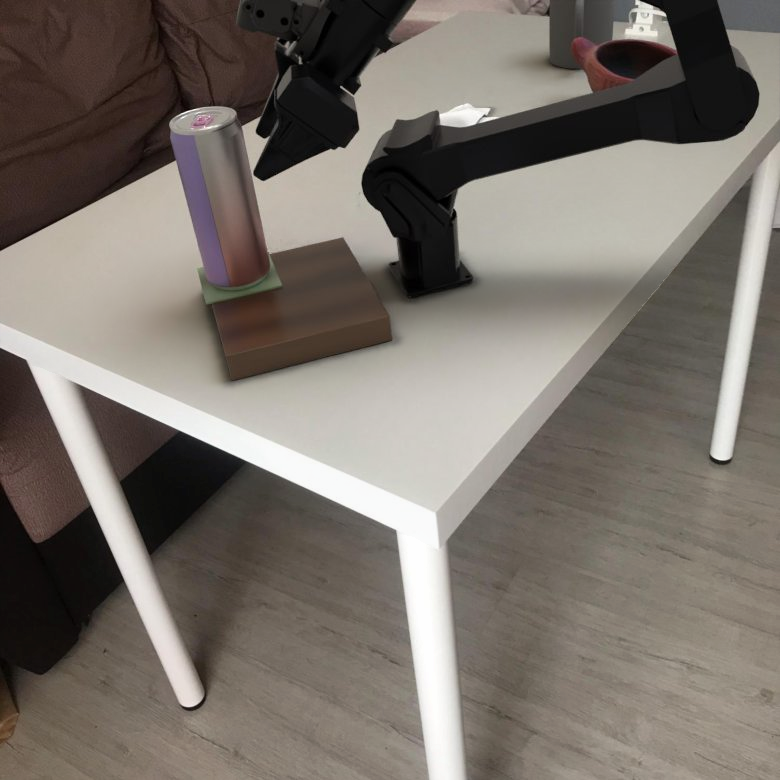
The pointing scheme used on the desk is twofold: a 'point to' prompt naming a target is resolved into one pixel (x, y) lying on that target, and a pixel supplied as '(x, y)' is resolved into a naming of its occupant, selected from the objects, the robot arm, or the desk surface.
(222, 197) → the beverage can
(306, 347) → the brown wooden board
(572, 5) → the mug
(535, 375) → the desk surface
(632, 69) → the bowl
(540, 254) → the desk surface
